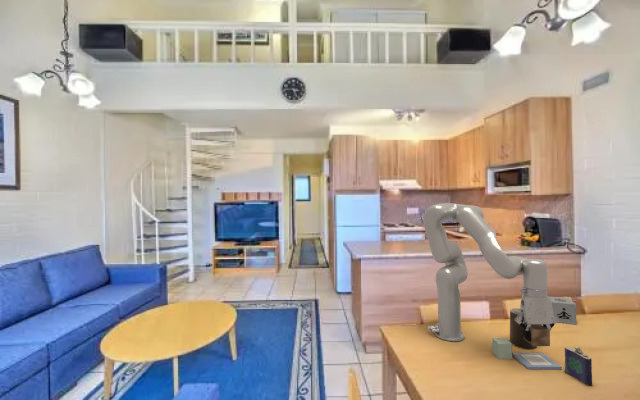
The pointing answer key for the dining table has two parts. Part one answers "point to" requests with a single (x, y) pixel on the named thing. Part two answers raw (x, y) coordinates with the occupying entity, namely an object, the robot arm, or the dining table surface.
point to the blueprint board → (536, 361)
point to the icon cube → (564, 310)
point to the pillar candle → (517, 331)
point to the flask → (578, 365)
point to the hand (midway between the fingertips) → (536, 339)
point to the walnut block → (539, 335)
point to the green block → (502, 348)
